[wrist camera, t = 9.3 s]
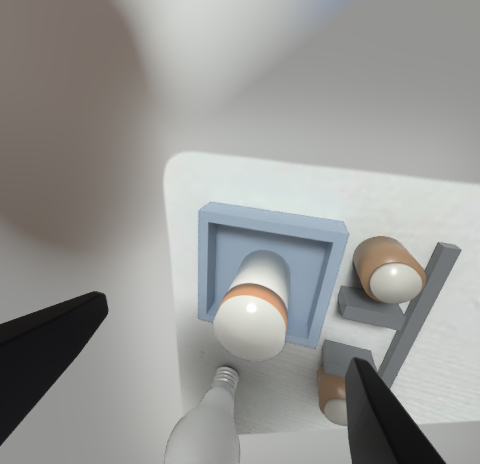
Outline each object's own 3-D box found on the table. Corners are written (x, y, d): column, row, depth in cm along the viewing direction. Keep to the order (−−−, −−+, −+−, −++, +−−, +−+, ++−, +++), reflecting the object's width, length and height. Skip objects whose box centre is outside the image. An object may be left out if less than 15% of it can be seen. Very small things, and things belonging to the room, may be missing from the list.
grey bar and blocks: (454, 244, 16) (479, 262, 14) (376, 401, 23) (384, 430, 21) (358, 230, 17) (366, 243, 15) (311, 383, 24) (312, 408, 22)
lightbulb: (241, 345, 25) (200, 482, 15) (265, 387, 26) (242, 536, 17) (194, 353, 27) (132, 476, 17) (218, 391, 29) (174, 523, 19)
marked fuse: (295, 254, 19) (291, 314, 13) (286, 298, 21) (279, 370, 14) (242, 244, 20) (213, 295, 13) (237, 287, 22) (211, 350, 15)
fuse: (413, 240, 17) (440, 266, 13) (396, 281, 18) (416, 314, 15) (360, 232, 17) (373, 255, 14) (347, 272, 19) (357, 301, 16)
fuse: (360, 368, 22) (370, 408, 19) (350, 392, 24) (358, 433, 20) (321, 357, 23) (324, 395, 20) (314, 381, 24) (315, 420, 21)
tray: (343, 221, 17) (349, 233, 15) (314, 326, 22) (315, 349, 19) (210, 201, 19) (198, 210, 17) (207, 301, 24) (198, 319, 21)
